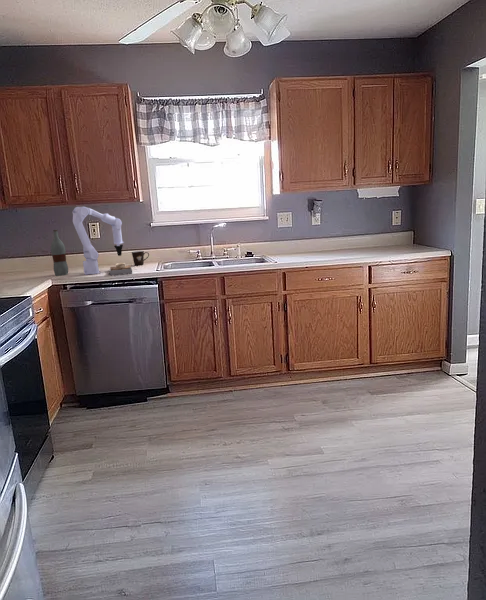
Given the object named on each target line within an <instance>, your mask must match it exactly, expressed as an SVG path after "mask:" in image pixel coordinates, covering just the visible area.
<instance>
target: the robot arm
mask: <svg viewBox="0 0 486 600" xmlns="http://www.w3.org/2000/svg"><path fill="white" fill-rule="evenodd" d="M88 216H92V217H95V218H98V219H100V220H101V222H103V223H105V224H108V225H110V227H111V229H112V235H113V244H114V249H115V250H116V253H117V256H118V257H121V256H122V250H123V247H124V243H125V241H123V236H122V235H123V234H122V225H123V222H122V219H120V218H119V217H116V216H114V215H110V214H109V212H106V213H100V212H99V211H97V210H95V209H92V208H91V207H86V206H83V205H82V206H76V207H74V209H73V210H72V223H73V227H74V228H75V232H76V233H77V235H78V238H79V240H80V242H81V244H82V247H83V249H82V252H83V257H84V259H85V260H83V261H82V265H83V273H84V275H85V276H86V275H97V274H100V272H101V271H100V270H99V262H98V258H99V252H98V251H97V250H96V248H95V247H94V246H93V245H92V242H91V240H90V237H89V236H88V234H87V231H86V227H85V226H84V224H83V222H84V220H85V218H86V217H88Z"/></svg>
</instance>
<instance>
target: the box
mask: <svg viewBox="0 0 486 600" xmlns="http://www.w3.org/2000/svg"><path fill="white" fill-rule="evenodd" d="M132 268H133V267H132V266H131V269H124V270H113V271H111V269H110V268H109V276H119V275H120V276H121V275H131V274H133V269H132Z"/></svg>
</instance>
